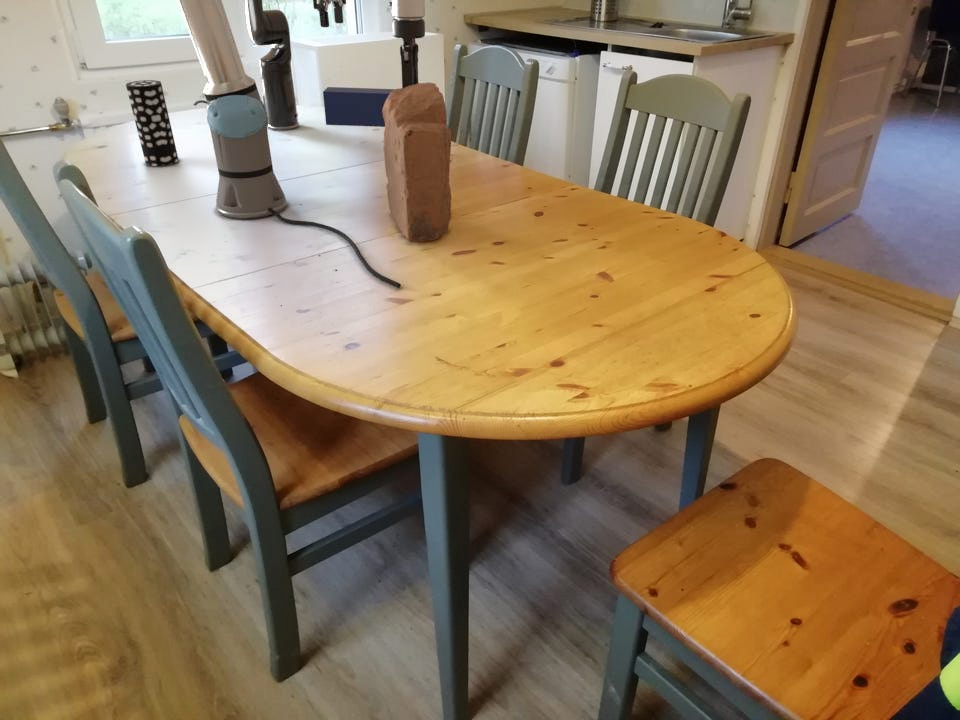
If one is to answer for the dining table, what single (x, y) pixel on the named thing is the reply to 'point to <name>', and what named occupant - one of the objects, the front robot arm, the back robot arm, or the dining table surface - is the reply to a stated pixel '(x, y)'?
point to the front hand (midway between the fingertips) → (411, 121)
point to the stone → (418, 161)
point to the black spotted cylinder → (152, 122)
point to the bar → (355, 106)
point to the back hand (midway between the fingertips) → (332, 25)
